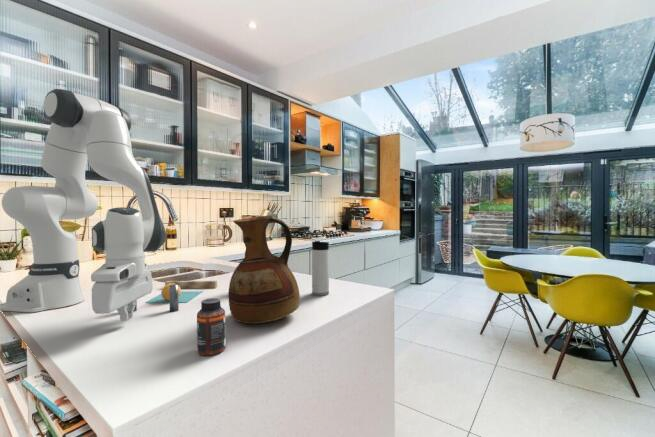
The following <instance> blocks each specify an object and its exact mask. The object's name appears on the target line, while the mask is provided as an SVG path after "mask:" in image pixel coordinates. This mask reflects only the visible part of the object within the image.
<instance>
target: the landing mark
mask: <svg viewBox="0 0 655 437" xmlns="http://www.w3.org/2000/svg"><path fill="white" fill-rule="evenodd" d="M202 293H203V291H201V290H200V291H198V290H195V291H193V290H192V291H185V290H183V291H182V290H181V294H180V296H179V297H178V303H179V304H182V303H183V304H187V303H189V302H190V301H192V300H193V299H195V298H196V297H198V296H199V295H200V294H202ZM194 297H195V298H194ZM144 303H145V304H170V301H167V300H165V299H164V298H163V297H162V294H158V295H157V296H155V297H153V298H151V299H149V300H146V301H145V302H144Z"/></svg>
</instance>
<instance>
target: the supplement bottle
mask: <svg viewBox="0 0 655 437" xmlns="http://www.w3.org/2000/svg"><path fill="white" fill-rule="evenodd" d="M200 303H201V306H200V307H201V308H200V310H198V311H197V313H196V339H197V340H196V341H197V345H196V346H197V353H198V354H199V355H201V356H215V355H217V354H220V353H222V352H223V351H224V350H225V349H226V348H227V347H226V343H227V342H226V341H227V340H226V338H227V336H226V310H225V309H224V308H223V307H222V306H221V305H222V304H221V299H220V298H217V297H212V298H210V297H209V298H206V299H203V300H201V302H200Z"/></svg>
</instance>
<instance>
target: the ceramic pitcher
mask: <svg viewBox="0 0 655 437" xmlns="http://www.w3.org/2000/svg"><path fill="white" fill-rule="evenodd" d="M233 223H234V224H235V225H236V226H238V227H239V228H240V229H241V231H242V241H243V244H244V246H245V252H244V258H243V259H242V260H241V262H239V264H238V265H237V266H236V268H235V269H234V270H233V273H232V275H231V277H230V280H229V286H228V293H227V294H228V295H227V296H228V306H229V311H230V314H231V316H232V318H233V319H234V320H236V321H238V322H240V323H244V324H245V323H246V324H261V323H262V324H263V323H268V322H271V321H278V320H279V319H282V318H285V317H286V316H289V315H291V314H293V313H295V311H297V310H298V309H299V307H300V303H301V302H300V300H301V295H300V289H299V286H298V285H299V284H298V282H297V279H296V277H295V275H294V274H293V271H292V270H291V269H290V267H289V265H288V263H289V262H288V261H289V258H290V253H291V249H292V245H293V238H292V237H293V236H292V232H291V229H290V227H289V226H288V224H286V222H285V221H283V220H282V219H280V218H278V217H277V216H273V215H271V214H268V215H261V216H256V217H248V218H247V217H245V218H241V219H240V218H239V219H235V220H233ZM272 223H273V224H274V223H276V224H278V225H280V226H281V228H282V229H283V231H284V235H285V236H284V237H285V243H284V248H283V251H282V253H281V255H280V256H277V255H275V254H273V253H272V252H271V250H270V248H269V246H268V241H267V228H268V225H269V224H272Z"/></svg>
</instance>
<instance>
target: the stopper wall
mask: <svg viewBox="0 0 655 437" xmlns="http://www.w3.org/2000/svg"><path fill="white" fill-rule="evenodd" d="M170 283H174V284H178V286H179V287H180V289H217V288H218V280H167V281H165V282H164V286H165V285H167V284H170Z"/></svg>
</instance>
